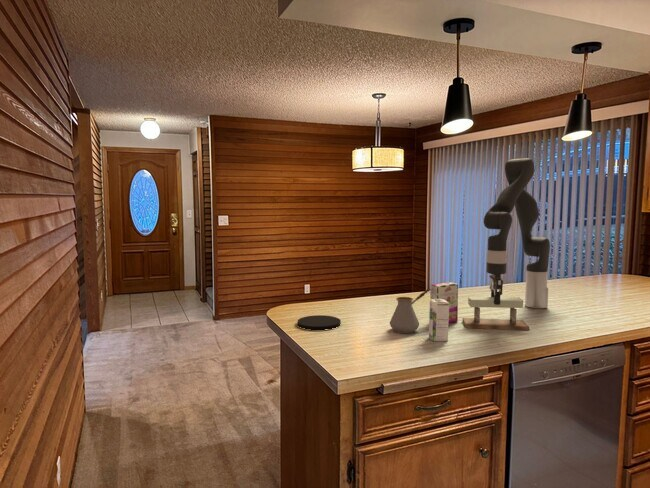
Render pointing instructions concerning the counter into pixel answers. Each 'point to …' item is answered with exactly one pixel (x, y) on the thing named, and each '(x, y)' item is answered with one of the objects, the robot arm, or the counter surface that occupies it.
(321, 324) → the wireless charger
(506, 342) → the counter surface
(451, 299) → the candy bar box
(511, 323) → the peg rack
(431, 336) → the syrup box
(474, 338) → the counter surface
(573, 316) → the counter surface
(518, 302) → the shelf board
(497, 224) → the robot arm
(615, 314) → the counter surface
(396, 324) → the coffee pot
